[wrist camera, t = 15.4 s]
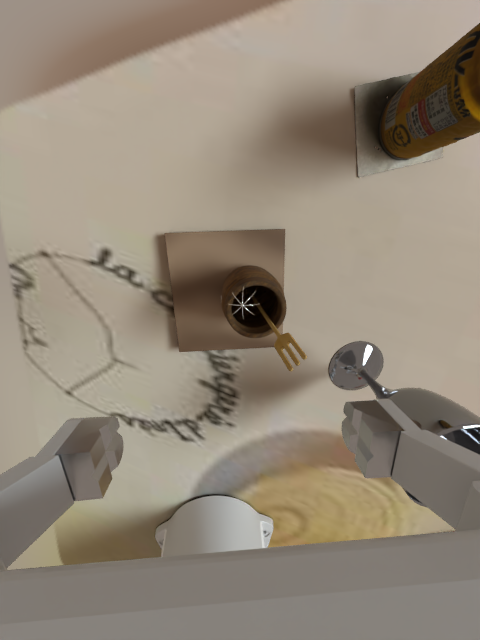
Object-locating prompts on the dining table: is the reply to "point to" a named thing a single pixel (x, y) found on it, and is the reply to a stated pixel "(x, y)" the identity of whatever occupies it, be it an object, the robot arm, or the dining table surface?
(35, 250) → the dining table surface
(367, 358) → the wine glass
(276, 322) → the utensil holder
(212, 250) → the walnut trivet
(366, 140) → the condiment
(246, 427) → the dining table surface
